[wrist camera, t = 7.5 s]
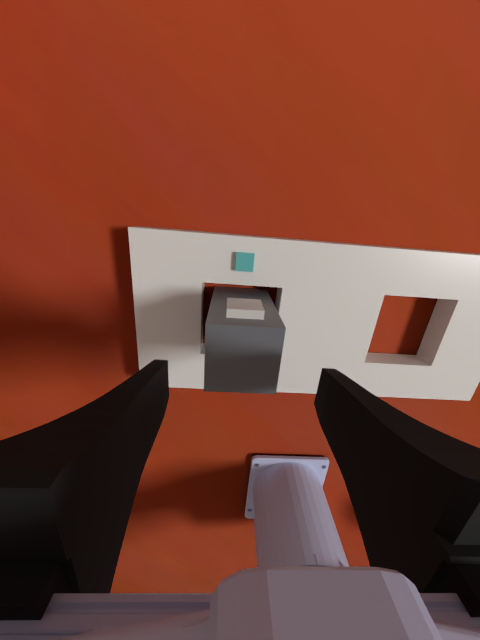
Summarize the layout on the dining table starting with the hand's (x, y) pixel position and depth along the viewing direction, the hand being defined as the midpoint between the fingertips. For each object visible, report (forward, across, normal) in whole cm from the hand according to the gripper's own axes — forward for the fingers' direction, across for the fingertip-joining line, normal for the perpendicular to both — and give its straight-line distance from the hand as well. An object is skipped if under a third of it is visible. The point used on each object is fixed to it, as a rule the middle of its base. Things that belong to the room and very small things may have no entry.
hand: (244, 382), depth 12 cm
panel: (+9, -6, 0) cm, 11 cm away
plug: (+9, 0, 0) cm, 9 cm away
